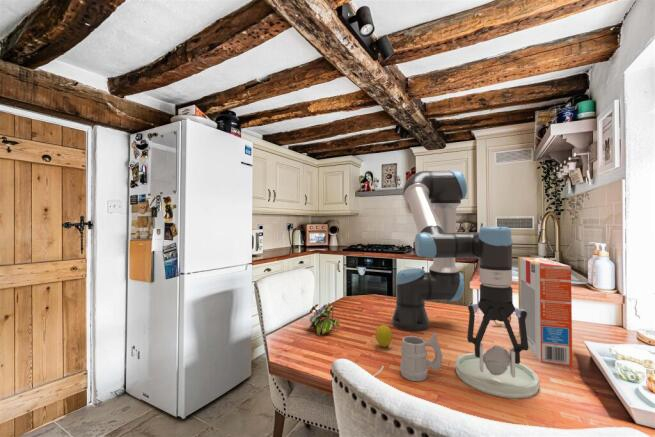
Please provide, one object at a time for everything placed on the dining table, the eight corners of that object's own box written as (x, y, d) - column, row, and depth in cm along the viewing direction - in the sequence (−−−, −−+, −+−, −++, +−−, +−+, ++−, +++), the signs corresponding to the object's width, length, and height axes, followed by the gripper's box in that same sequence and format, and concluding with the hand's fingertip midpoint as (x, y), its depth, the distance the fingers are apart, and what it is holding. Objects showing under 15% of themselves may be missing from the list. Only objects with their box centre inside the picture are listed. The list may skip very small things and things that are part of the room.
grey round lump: (517, 377, 76) (516, 349, 76) (495, 381, 74) (495, 353, 74) (497, 366, 82) (497, 341, 82) (477, 370, 80) (476, 343, 80)
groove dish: (455, 387, 78) (455, 378, 78) (456, 355, 96) (456, 348, 96) (547, 406, 69) (547, 396, 70) (529, 368, 88) (529, 360, 88)
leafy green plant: (314, 343, 121) (313, 311, 129) (343, 339, 119) (340, 306, 127) (305, 335, 111) (304, 301, 119) (337, 330, 109) (334, 296, 117)
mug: (397, 367, 88) (397, 327, 88) (437, 368, 88) (437, 328, 88) (402, 381, 81) (402, 337, 81) (446, 382, 80) (446, 338, 80)
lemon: (382, 352, 99) (382, 328, 99) (372, 346, 104) (372, 323, 104) (395, 348, 101) (395, 325, 101) (385, 343, 106) (385, 320, 106)
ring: (509, 325, 123) (509, 306, 124) (512, 328, 120) (512, 308, 120) (491, 324, 125) (491, 305, 125) (493, 327, 122) (493, 307, 122)
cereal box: (572, 365, 89) (571, 266, 90) (540, 361, 92) (539, 265, 92) (543, 337, 111) (542, 257, 111) (518, 335, 113) (518, 257, 114)
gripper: (455, 284, 79) (456, 371, 78) (543, 290, 71) (545, 387, 71) (455, 279, 86) (456, 359, 85) (536, 284, 78) (537, 373, 77)
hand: (496, 372), depth 78 cm, fingers closed on grey round lump, 6 cm apart
